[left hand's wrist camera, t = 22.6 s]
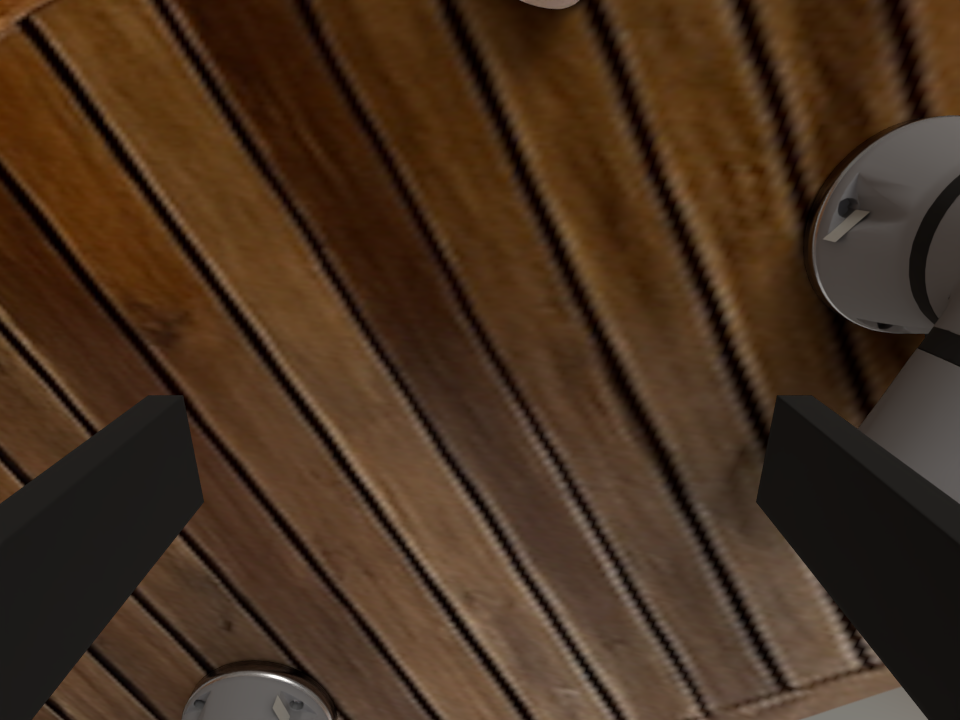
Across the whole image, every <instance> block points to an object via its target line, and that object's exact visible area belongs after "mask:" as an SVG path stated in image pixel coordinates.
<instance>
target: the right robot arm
mask: <svg viewBox="0 0 960 720" xmlns="http://www.w3.org/2000/svg"><path fill="white" fill-rule="evenodd" d="M182 720H337V713H336V709H335V706H334V704H333V701H332V700H331V698H330V696H329V695H328V693H327V692H326V691H325V690H324V689H323V688H322V687H321V686H320V685H319V684H318V683H317V682H316V681H315V680H313V679H312V678H311V677H309V676H307V675H306V674H304V673H302V672H300V671H298V670H296V669H294V668H291V667H288V666H285V665H282V664H278V663H273V662H267V661H241V662H235V663H231V664H227V665H224V666H222V667H219V668H217V669H215V670H213V671H212V672H210V673H209V674H207V675H206V676H205V677H204V678H203V679H202V680H201V681H200V682H199V683H198V684H197V686H196V687H195V689H194V691H193V693H192V695H191V696H190V698H189V700H188V702H187V704H186V706H185V708H184V711H183V715H182Z"/></svg>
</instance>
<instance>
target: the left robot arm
mask: <svg viewBox="0 0 960 720" xmlns="http://www.w3.org/2000/svg"><path fill="white" fill-rule="evenodd" d="M804 262H805V267H806V271H807V274H808V278H809V280H810V283H811V285H812V287H813V289H814V290H815V292H816V294H817V295H818V297H819V298H820V299H821V300H822V302H823V303H824V304H825V305H826V306H827V307H828V308H829V309H831V310H832V311H833V312H835V313H836V314H838V315H839V316H841V317H842V318H845V319H847V320H849V321H851V322H853V323H856V324H858V325H860V326H862V327H865V328H868V329H871V330H875V331H880V332H887V333H898V334H910V333H913V334H925V339H924V340H923V342H922V343H921V344H920V346H919V347H918V348H917V349H916V350H915V352H914V353H913V354H912V356H911V357H910V358H909V360H908V361H907V363H906V364H905V365H904V367H903V368H902V369H901V371H900V372H899V374H898V375H897V376H896V378H895V379H894V381H893V382H892V383H891V385H890V386H889V387H888V389H887V390H886V392H885V393H884V394H883V396H882V397H881V398H880V400H879V401H878V403H877V404H876V405H875V407H874V408H873V409H872V411H871V412H870V413H869V415H868V416H867V417H866V419H865V420H864V421H863V423H862V424H861V425H860V426H859V428H858V429H857V428H855V427H854V426H853V425H851V424H850V423H849V422H847V421H846V420H845V419H843V418H842V417H840V416H839V415H838V414H836V413H835V412H834V411H832V410H831V409H829V408H828V407H827V406H825V405H824V404H823V403H821V402H820V401H819V400H817V399H816V398H814V397H813V396H812V395H777V398H776V403H775V408H774V413H773V419H772V424H771V429H770V434H769V439H768V444H767V449H766V454H765V459H764V464H763V469H762V475H761V480H760V485H759V490H758V495H757V500H756V502H757V504H758V505H759V506H760V507H761V509H762V510H763V511H764V513H765V514H766V515H767V516H768V518H769V519H770V520H771V521H772V523H773V524H774V525H775V526H776V528H777V529H778V530H779V532H780V533H781V534H782V535H783V537H784V538H785V539H786V540H787V542H788V543H789V544H790V545H791V547H792V548H793V549H794V550H795V552H796V553H797V554H798V556H799V557H800V558H801V559H802V561H803V562H804V563H805V564H806V566H807V567H808V568H809V569H810V571H811V572H812V573H813V574H814V576H815V577H816V578H817V580H818V581H819V582H820V583H821V585H822V586H823V587H824V588H825V590H826V591H827V592H828V593H829V595H830V596H831V597H832V599H833V600H834V601H835V602H836V604H837V605H838V606H839V607H840V609H841V610H842V611H843V612H844V614H845V615H846V616H847V617H848V619H849V620H850V621H851V623H852V624H853V625H854V626H855V628H856V629H857V630H858V631H859V633H860V634H861V635H862V636H863V638H864V639H865V640H866V641H867V643H868V644H869V645H870V647H871V648H872V649H873V650H874V652H875V653H876V654H877V655H878V657H879V658H880V659H881V660H882V662H883V663H884V664H885V666H886V667H887V668H888V669H889V671H890V672H891V673H892V674H893V676H894V677H895V678H896V679H897V681H898V682H899V683H900V684H901V686H902V687H903V688H904V689H905V691H906V692H907V693H908V695H909V696H910V697H911V698H912V700H913V701H914V702H915V703H916V705H917V706H918V707H919V708H920V710H921V711H922V712H923V714H924V715H925V716H926V717H927V719H928V720H960V116H938V117H926V118H919V119H914V120H909V121H906V122H902V123H899V124H897V125H894V126H892V127H889V128H887V129H885V130H883V131H881V132H879V133H877V134H875V135H874V136H872V137H870V138H869V139H867V140H866V141H865V142H863V143H862V144H860V145H859V146H858V147H856V148H855V149H854V150H853V151H852V152H851V153H849V154H848V155H847V156H846V157H845V158H844V159H843V160H842V161H841V162H840V163H839V165H838V166H837V167H836V168H835V169H834V170H833V172H832V173H831V174H830V176H829V177H828V178H827V180H826V181H825V183H824V185H823V186H822V188H821V189H820V191H819V193H818V195H817V197H816V199H815V201H814V203H813V206H812V208H811V211H810V214H809V217H808V220H807V225H806V229H805V236H804ZM939 357H940V358H939ZM941 358H942V359H941ZM943 359H944V360H943ZM945 360H946V361H945ZM947 361H948V362H947ZM950 362H951V363H950ZM952 363H953V364H952ZM954 364H955V365H954ZM956 365H957V366H956ZM203 502H204V500H203V495H202V490H201V485H200V480H199V475H198V469H197V464H196V459H195V454H194V449H193V444H192V439H191V434H190V429H189V424H188V419H187V413H186V408H185V403H184V398H183V395H148V396H147V397H146V398H144V399H143V400H141V401H140V402H139V403H137V404H136V405H135V406H133V407H132V408H131V409H129V410H128V411H126V412H125V413H124V414H122V415H121V416H120V417H118V418H117V419H115V420H114V421H113V422H111V423H110V424H109V425H107V426H106V427H105V428H103V429H102V430H100V431H99V432H98V433H96V434H95V435H94V436H92V437H91V438H90V439H88V440H87V441H85V442H84V443H83V444H81V445H80V446H79V447H77V448H76V449H74V450H73V451H72V452H70V453H69V454H68V455H66V456H65V457H64V458H62V459H61V460H59V461H58V462H57V463H55V464H54V465H53V466H51V467H50V468H49V469H47V470H46V471H44V472H43V473H42V474H40V475H39V476H38V477H36V478H35V479H33V480H32V481H31V482H29V483H28V484H27V485H25V486H24V487H23V488H21V489H20V490H18V491H17V492H16V493H14V494H13V495H12V496H10V497H9V498H7V499H6V500H5V501H3V502H2V503H1V504H0V720H32V719H33V717H34V716H35V715H36V714H37V712H38V711H39V710H40V708H41V707H42V706H43V705H44V703H45V702H46V701H47V700H48V698H49V697H50V696H51V695H52V693H53V692H54V691H55V690H56V688H57V687H58V686H59V684H60V683H61V682H62V681H63V679H64V678H65V677H66V676H67V674H68V673H69V672H70V671H71V669H72V668H73V667H74V666H75V664H76V663H77V662H78V660H79V659H80V658H81V657H82V655H83V654H84V653H85V652H86V650H87V649H88V648H89V647H90V645H91V644H92V643H93V641H94V640H95V639H96V638H97V636H98V635H99V634H100V633H101V631H102V630H103V629H104V628H105V626H106V625H107V624H108V623H109V621H110V620H111V619H112V617H113V616H114V615H115V614H116V612H117V611H118V610H119V609H120V607H121V606H122V605H123V604H124V602H125V601H126V600H127V599H128V597H129V596H130V595H131V593H132V592H133V591H134V590H135V588H136V587H137V586H138V585H139V583H140V582H141V581H142V580H143V578H144V577H145V576H146V574H147V573H148V572H149V571H150V569H151V568H152V567H153V566H154V564H155V563H156V562H157V561H158V559H159V558H160V557H161V556H162V554H163V553H164V552H165V550H166V549H167V548H168V547H169V545H170V544H171V543H172V542H173V540H174V539H175V538H176V537H177V535H178V534H179V533H180V532H181V530H182V529H183V528H184V526H185V525H186V524H187V523H188V521H189V520H190V519H191V518H192V516H193V515H194V514H195V513H196V511H197V510H198V509H199V507H200V506H201V505H202V504H203Z"/></svg>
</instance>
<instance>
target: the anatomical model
mask: <svg viewBox="0 0 960 720" xmlns="http://www.w3.org/2000/svg"><path fill="white" fill-rule="evenodd" d="M520 1H523V2H525V3H528V4H531V5H535V6H538V7H543V8H549V9H563V8H567V7H570V6H572V5H574V4H576V3H577V2H578V1H579V0H520Z"/></svg>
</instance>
